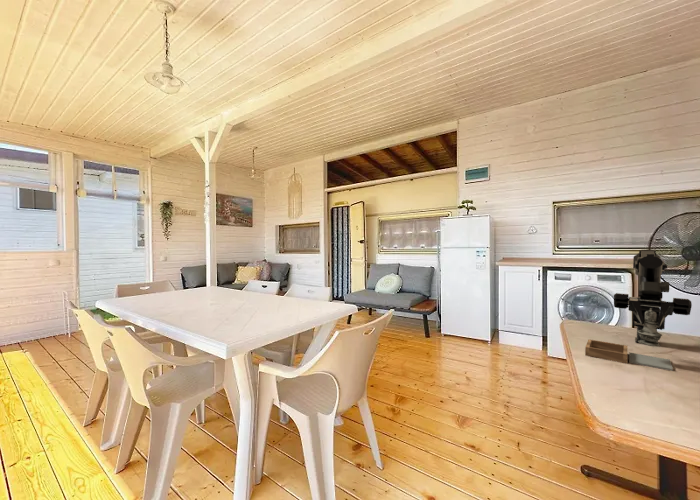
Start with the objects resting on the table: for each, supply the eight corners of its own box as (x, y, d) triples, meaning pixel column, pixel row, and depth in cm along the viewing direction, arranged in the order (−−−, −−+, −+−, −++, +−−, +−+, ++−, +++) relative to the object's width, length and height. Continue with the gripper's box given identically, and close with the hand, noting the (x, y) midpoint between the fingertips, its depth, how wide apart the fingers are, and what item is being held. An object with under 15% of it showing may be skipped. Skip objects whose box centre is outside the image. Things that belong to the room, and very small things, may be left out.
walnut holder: (588, 347, 117) (588, 339, 117) (627, 354, 109) (627, 345, 109) (585, 355, 109) (585, 347, 108) (627, 363, 101) (627, 354, 101)
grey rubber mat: (629, 353, 109) (629, 352, 109) (669, 361, 103) (669, 359, 103) (629, 362, 102) (629, 360, 102) (672, 371, 95) (672, 369, 95)
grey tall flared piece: (666, 346, 100) (668, 309, 99) (652, 347, 99) (654, 310, 98) (646, 339, 106) (647, 305, 105) (632, 341, 105) (634, 306, 104)
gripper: (614, 270, 110) (612, 307, 103) (691, 274, 98) (696, 315, 90) (614, 289, 117) (613, 324, 109) (687, 294, 104) (691, 335, 96)
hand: (650, 324), depth 101 cm, fingers closed on grey tall flared piece, 4 cm apart
